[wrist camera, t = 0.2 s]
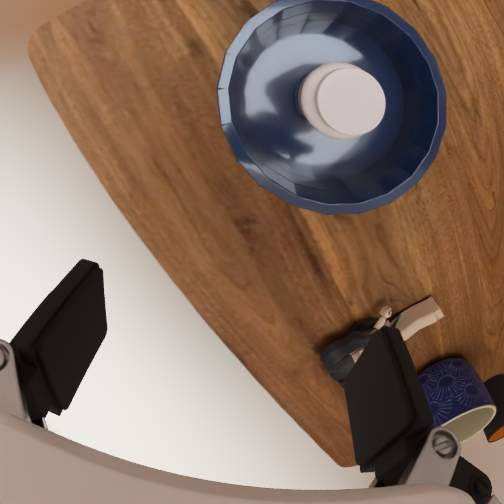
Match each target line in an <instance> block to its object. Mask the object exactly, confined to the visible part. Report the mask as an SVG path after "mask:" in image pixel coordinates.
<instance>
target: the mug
mask: <svg viewBox="0 0 504 504" xmlns="http://www.w3.org/2000/svg"><path fill="white" fill-rule="evenodd" d="M484 385H485V387H486V389H487V391H488V393H489V395H490V397H491V399H492V401H493V402H494V404H495V406H496V414H495V416H494V417H493V419H492V420H491V422H490V423H489V424H488V425H487V426H486V427H485V428H484V429H483V430H484V433H485V435H486V438H487V440H488V442H494V441H497V440H499V439H501V438H503V437H504V375H497V376H495V377H492V378H491V379H489V380H487V381H486V382H485V383H484Z"/></svg>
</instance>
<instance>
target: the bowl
mask: <svg viewBox="0 0 504 504" xmlns="http://www.w3.org/2000/svg"><path fill="white" fill-rule="evenodd" d="M332 62H344V63H349V64H352V65H355V66H357V67H359V68H361V69H362V70H364V71H365V72H367V73H369V74H370V75H371V76H373V77H374V78H375V79H376V80H377V82H378V83H379V84H380V86H381V88H382V90H383V92H384V95H385V102H386V107H385V112H384V115H383V118H382V120H381V121H380V123H379V124H378V125H377V126H376V127H375V128H374V129H373V130H371V131H370V132H368V133H365V134H363V135H362V136H360V137H357V138H354V139H349V140H338V139H333V138H330V137H327V136H325V135H323V134H322V133H320V132H319V131H317V130H316V129H315V128H313V127H312V126H310V125H309V124H308V123H307V122H305V121H304V120H303V118H302V117H301V116H300V114H299V112H298V110H297V108H296V105H295V91H296V88H297V86H298V84H299V82H300V81H301V79H302V78H303V77H304V76H305V75H307V74H308V73H310V72H311V71H313V70H314V69H316V68H318V67H319V66H322V65H324V64H327V63H332ZM217 88H218V89H217V97H218V106H219V115H220V124H221V127H222V130H223V132H224V134H225V136H226V138H227V141H228V143H229V145H230V147H231V149H232V151H233V154H234V156H235V158H236V159H237V161H238V162H239V163H240V164H241V165H242V167H243V168H244V169H245V170H246V171H247V172H248V173H249V174H250V175H251V177H252V178H253V179H254V180H255V181H256V182H257V183H258V184H259V185H260V186H261V187H262V188H264V189H265V190H267V191H269V192H270V193H272V194H274V195H275V196H277V197H279V198H280V199H282V200H284V201H285V202H287V203H288V204H290V205H293V206H295V207H299V208H303V209H307V210H311V211H315V212H318V213H322V214H327V215H330V214H358V213H363V212H366V211H369V210H371V209H374V208H377V207H380V206H383V205H386V204H389V203H391V202H393V201H394V200H395V199H397V198H398V197H399V196H401V195H402V194H404V193H405V192H406V191H408V190H409V189H410V188H412V187H413V186H414V185H416V184H417V183H418V182H419V180H420V179H421V178H422V176H423V175H424V173H425V172H426V171H427V169H428V168H429V166H430V165H431V164H432V162H433V161H434V159H435V158H436V156H437V153H438V150H439V147H440V144H441V141H442V138H443V135H444V131H445V128H446V90H445V86H444V83H443V80H442V76H441V73H440V70H439V67H438V64H437V61H436V59H435V57H434V56H433V54H432V53H431V51H430V50H429V48H428V47H427V45H426V44H425V42H424V41H423V39H422V38H421V37H420V35H419V34H418V32H417V31H416V30H415V29H414V28H413V27H412V26H411V25H409V24H408V23H407V22H406V21H405V20H403V19H402V18H401V17H400V16H398V15H397V14H396V13H394V12H393V11H392V10H390V9H389V8H388V7H386V6H385V5H382V4H380V3H377V2H375V1H372V0H277V1H275V2H273V3H272V4H270V5H269V6H267V7H266V8H264V9H263V10H262V11H260V12H259V13H257V14H256V15H255V16H253V17H252V18H251V19H249V20H248V21H247V22H246V23H245V24H244V25H243V27H242V28H241V30H240V31H239V33H238V34H237V36H236V37H235V39H234V40H233V42H232V43H231V45H230V46H229V48H228V49H227V51H226V53H225V56H224V60H223V64H222V68H221V72H220V77H219V81H218V85H217Z"/></svg>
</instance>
